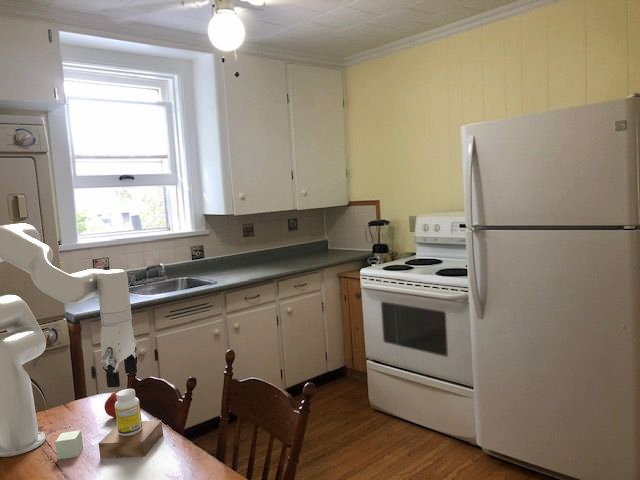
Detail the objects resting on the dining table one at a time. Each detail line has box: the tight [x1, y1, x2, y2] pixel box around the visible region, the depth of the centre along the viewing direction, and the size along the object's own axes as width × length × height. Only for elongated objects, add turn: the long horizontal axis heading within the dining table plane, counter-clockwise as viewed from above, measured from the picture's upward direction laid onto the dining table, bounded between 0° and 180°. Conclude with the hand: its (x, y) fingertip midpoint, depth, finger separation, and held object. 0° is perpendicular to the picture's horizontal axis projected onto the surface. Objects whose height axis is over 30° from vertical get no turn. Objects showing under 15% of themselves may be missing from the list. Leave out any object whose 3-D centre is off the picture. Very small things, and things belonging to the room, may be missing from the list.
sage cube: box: [54, 429, 84, 460], centre depth 138 cm, size 5×5×5 cm
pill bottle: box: [115, 388, 142, 436], centre depth 138 cm, size 6×6×11 cm
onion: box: [103, 391, 118, 419], centre depth 158 cm, size 6×6×8 cm
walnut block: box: [97, 419, 164, 459], centre depth 139 cm, size 12×12×4 cm
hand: (122, 379), depth 137 cm, fingers open, 9 cm apart
